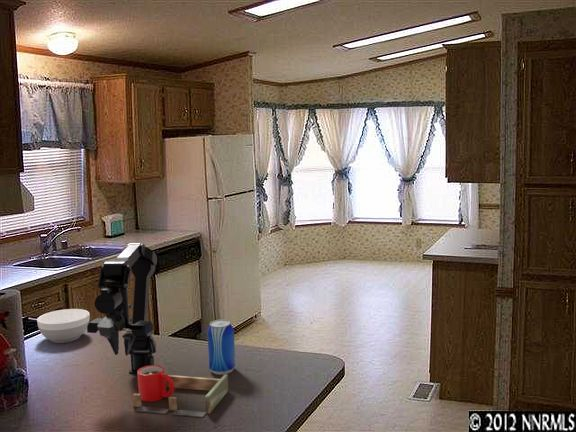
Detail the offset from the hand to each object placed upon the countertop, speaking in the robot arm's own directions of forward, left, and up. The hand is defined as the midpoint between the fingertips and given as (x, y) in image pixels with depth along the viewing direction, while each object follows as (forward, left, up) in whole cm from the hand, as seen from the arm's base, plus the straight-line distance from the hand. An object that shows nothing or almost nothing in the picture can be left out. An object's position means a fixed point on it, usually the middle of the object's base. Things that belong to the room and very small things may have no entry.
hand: (121, 354), depth 177 cm
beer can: (+23, +22, -12) cm, 34 cm away
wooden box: (+18, -1, -12) cm, 22 cm away
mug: (+11, 0, -12) cm, 17 cm away
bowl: (-48, +41, -12) cm, 64 cm away
